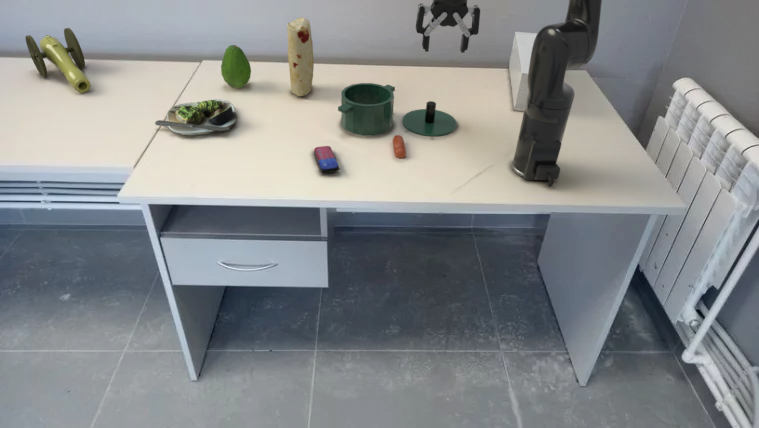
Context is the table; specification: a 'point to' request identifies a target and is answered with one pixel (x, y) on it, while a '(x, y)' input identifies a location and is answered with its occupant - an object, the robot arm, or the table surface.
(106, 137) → the table surface
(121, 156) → the table surface
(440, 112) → the lid
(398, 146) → the hot dog
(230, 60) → the avocado
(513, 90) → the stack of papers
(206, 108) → the salad plate
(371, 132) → the pot
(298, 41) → the food model
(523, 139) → the robot arm
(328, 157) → the eraser
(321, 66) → the table surface
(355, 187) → the table surface
